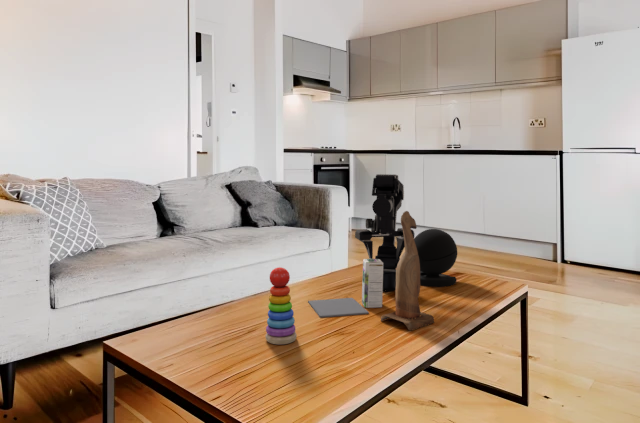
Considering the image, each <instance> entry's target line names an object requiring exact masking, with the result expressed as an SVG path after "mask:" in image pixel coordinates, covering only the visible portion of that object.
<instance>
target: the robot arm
mask: <svg viewBox="0 0 640 423" xmlns="http://www.w3.org/2000/svg"><path fill="white" fill-rule="evenodd" d="M404 188H405V187H404V184H403V183H402V182H401V181H400V180H399V174H386V173H385V174H381V173H380V174H376V175H375V177H373V181H372V191H371V196H373V197H375V196H376V199H375V200H374V202H373V203H372V206H371V207H372V210H373V211H372V212H373V213H374V214H375V215H374V220H373V218H366V219H365V228H366V229H361V228H360V229H356V231H355V233H354V234H355V235H354V239H357V240H358V241H359V242H362V243H363V245H364V247H365V249H366V252H367V256H368V259H380V260H381V261H382V262H383V293H384V292H396V269H397V265H398V262H399V260H400V258H401V256H402V253H403V251H404V250H405V242H404V234H403V229H402V227H399V228H396V226H397V214H398V211H399V209H401V207H402V203H403V201H404V198H405V191H404ZM369 229H370V230H369ZM396 229H397V230H396ZM411 232H412V234H413V238H415V231H414V230H413V228H411ZM372 238H382V244H381V245H379V246H378V247H377V253H376V255H375V258H373V256H374V255H373V249H374V248H373V247H374V246H373V245H374V244H373V240H371V239H372ZM395 243H396V245H395Z"/></svg>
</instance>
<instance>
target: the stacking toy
mask: <svg viewBox="0 0 640 423" xmlns="http://www.w3.org/2000/svg"><path fill="white" fill-rule="evenodd" d="M290 276H291V275H290V273H289V271H288V270H287V269H286V268H284V267H280V266H279V267H275V268H274V269H272V271H271V272H270V274H269V281H270V283H271V285H272V286H271V287H270V288H269V292H270V296H269V298H268V301H269V303H268V305H267V306H268V312H267V316H268V318H267V319H266V320H267V321H266V324H267V326H266V327H265V332H266V333H265V341H267V342H268V343H270V344H272V345H287V344H288V345H289V344H291V343H293V342H295V341H296V340H297V332H296V326H295V323H296V322H295V318H294V315H295V314H294V310H293V309H292V307H293V303H292V302H291V300H292V296H291V294H290V291H291V288H290V287H289V286H288V284H289V282H290V279H291V277H290Z"/></svg>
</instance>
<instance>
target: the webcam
mask: <svg viewBox="0 0 640 423" xmlns="http://www.w3.org/2000/svg"><path fill="white" fill-rule="evenodd" d="M414 241H415V244H416V248H417V252H418V256H419V263H420V286H422V287H423V286H424V287H432V288H433V287H434V288H443V287H444V288H445V286H446V287H452V286H455V285H457V277H456V276H451V275H448V274H444V273H447V272H448V271H450V270H451V268H453V266H454V265H455V263H456V262H457V257H458V247H457V244H456V241H455V240H454V238H453V237H452V236H451V235H450V234H449V233H447V232H446V231H444V230H441V229H438V228H429V229H425V230H423V231H421V232H419V233H418V234H417V235H416V236H414ZM454 284H455V285H454ZM451 285H452V286H451Z"/></svg>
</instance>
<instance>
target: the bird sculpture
mask: <svg viewBox="0 0 640 423" xmlns="http://www.w3.org/2000/svg"><path fill="white" fill-rule="evenodd" d="M400 224H401V228H402V229H403V234H404V242H405V247H404V253H403V254H401V256H400V260H399V262H398V265H397V268H396V291H395V311H393V312H389V313H385V314H382V315H381V316H380V322H383V321H386V320H389V319H393V320H396V321H399V322H402V323H403V324H404V325H405V326H406V328H407V330H408V332H409V331H411V330H412V331H414V329H416V330H417V329H420V328H423V326H424V327H426V326H425V325H427V326H429V325H428V324H430V325H432V323H434V324H435V317H434V316H433V315H432V314H429V313H426V312H424V311H421V308H420V303H419V297H420V292H421V285H420V263H419V256H418V252H417V248H416V244H415V241H414V238H415V237H414V238H413V234H412V232H411V229H412V230H413V229H415V230H416V229H417V223H416V220H415V218H414V217H412V215H411V214H410V212H409V211H408V210H405V211H404V212H402V215H401V216H400ZM419 327H420V328H419Z"/></svg>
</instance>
